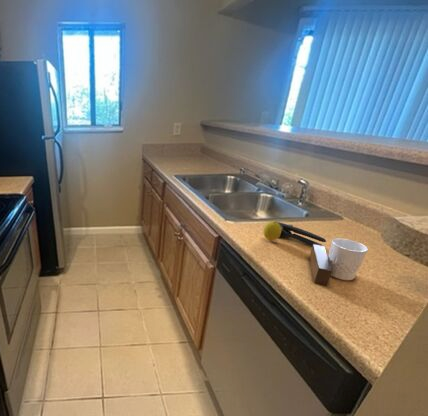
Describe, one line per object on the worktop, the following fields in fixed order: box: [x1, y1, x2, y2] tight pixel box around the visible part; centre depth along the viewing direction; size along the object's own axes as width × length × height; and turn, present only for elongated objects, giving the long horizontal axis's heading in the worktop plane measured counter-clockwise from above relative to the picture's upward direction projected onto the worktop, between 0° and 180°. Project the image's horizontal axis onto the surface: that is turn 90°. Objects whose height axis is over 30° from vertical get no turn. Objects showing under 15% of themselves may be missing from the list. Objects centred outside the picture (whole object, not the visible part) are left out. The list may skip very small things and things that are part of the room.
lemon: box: [263, 220, 281, 242], centre depth 101 cm, size 6×6×8 cm
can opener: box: [276, 221, 327, 246], centre depth 102 cm, size 18×7×6 cm, turn 39°
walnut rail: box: [308, 244, 332, 287], centre depth 84 cm, size 3×16×5 cm, turn 149°
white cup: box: [327, 238, 369, 281], centre depth 81 cm, size 8×8×10 cm
